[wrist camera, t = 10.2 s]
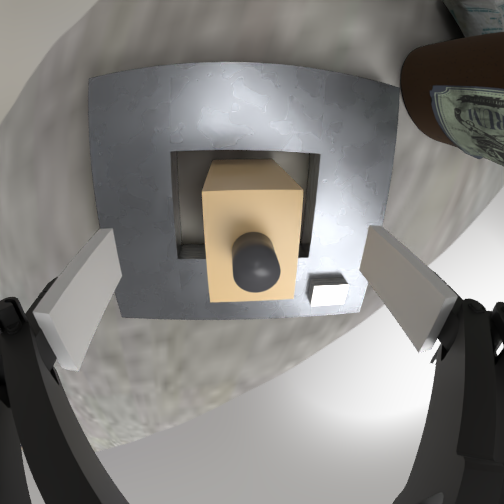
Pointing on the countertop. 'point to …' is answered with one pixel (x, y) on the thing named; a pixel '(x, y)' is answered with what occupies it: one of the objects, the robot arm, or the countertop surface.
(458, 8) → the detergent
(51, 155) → the countertop surface
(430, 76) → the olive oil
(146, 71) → the socket plate
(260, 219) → the plug
